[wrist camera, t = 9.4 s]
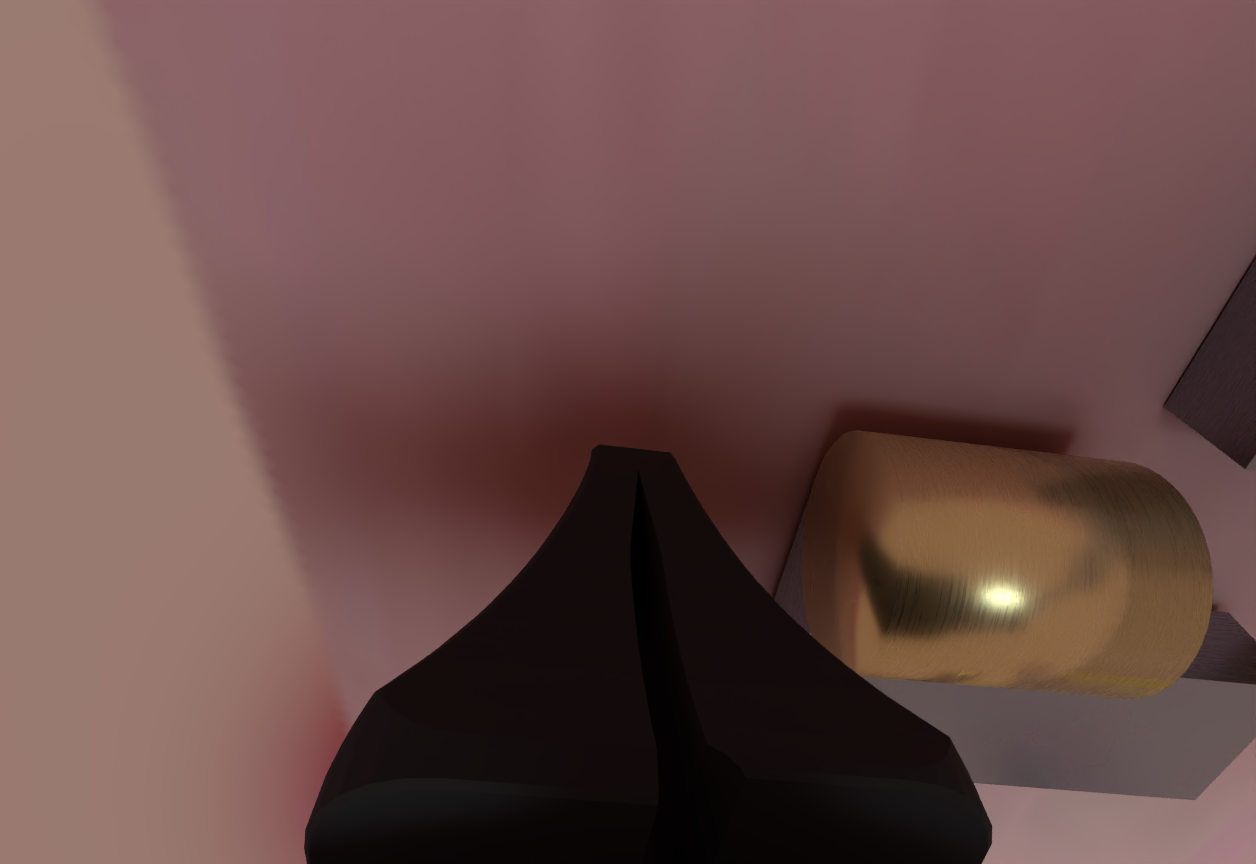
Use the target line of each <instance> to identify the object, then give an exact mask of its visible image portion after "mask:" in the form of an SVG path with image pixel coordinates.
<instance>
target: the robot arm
mask: <svg viewBox="0 0 1256 864" xmlns="http://www.w3.org/2000/svg"><path fill="white" fill-rule="evenodd" d="M991 844H992V825H991V822H990V820H989V818H988V816H987V813H986V811H985V809H984V807H983V804H982V802H981V800H980V797H979V795H978V792H977V790H976V788H975V785H974V783H973V781H972V779H971V777H970V774H969V772H968V770H967V768H966V766H965V765H964V763H963V761H962V759H961V757H960V755H959V753H958V752H957V750H956V748H955V746H954V744H953V742H952V740H951V738H950V737H949V736H947V735H946V734H944V733H943V732H941V731H940V730H938V729H937V728H935V727H934V726H932V725H931V724H929V723H928V722H926V721H925V720H923V719H921V718H920V717H918V716H917V715H915V714H914V713H912V712H911V711H909V710H908V709H906V708H905V707H903V706H902V705H900V704H899V703H897V702H896V701H894V700H893V699H891V698H890V697H888V696H887V695H885V694H884V693H882V692H881V691H880V690H878V689H877V688H876V687H874V686H873V685H872V684H870V683H869V682H868V681H866V680H865V679H864V678H862V677H861V676H860V675H858V674H857V673H856V672H855V671H853V670H852V669H851V668H849V667H848V666H847V665H845V664H844V663H843V662H842V661H841V660H839V659H838V658H837V657H836V656H834V655H833V654H832V653H831V652H830V651H828V650H827V649H826V648H825V647H824V646H822V645H821V644H820V643H819V642H818V641H817V640H816V639H815V638H814V637H812V636H811V635H810V634H809V633H808V632H807V631H806V630H805V629H804V628H802V627H801V626H800V625H799V624H798V623H797V622H796V621H795V620H794V619H793V618H792V617H791V616H790V615H789V614H788V613H787V612H786V611H785V610H784V609H782V607H781V606H780V605H779V604H778V603H777V602H776V601H775V600H774V599H773V598H772V597H771V596H770V595H769V594H768V593H767V592H766V590H765V589H764V588H763V587H762V586H761V585H760V584H759V583H758V582H757V581H756V580H755V578H754V577H753V576H752V575H751V574H750V572H749V571H748V570H747V569H746V568H745V566H744V565H743V564H742V562H741V561H740V560H739V558H738V557H737V556H736V555H735V553H734V552H733V551H732V549H731V548H730V547H729V545H728V544H727V542H726V541H725V540H724V538H723V537H722V536H721V534H720V533H719V531H718V530H717V528H716V527H715V525H714V524H713V522H712V521H711V519H710V518H709V516H708V515H707V513H706V512H705V510H704V509H703V507H702V505H701V504H700V502H699V501H698V499H697V497H696V496H695V494H694V492H693V490H692V489H691V487H690V485H689V484H688V482H687V480H686V478H685V477H684V475H683V473H682V471H681V469H680V467H679V465H678V464H677V462H676V460H675V458H674V457H673V456H672V454H671V453H669V452H660V451H651V450H643V449H634V448H625V447H616V446H607V445H598V446H597V447H595V448H594V449H592V453H591V459H590V462H589V466H588V468H587V471H586V473H585V476H584V478H583V480H582V482H581V484H580V486H579V488H578V490H577V492H576V494H575V495H574V497H573V499H572V501H571V502H570V504H569V506H568V508H567V509H566V511H565V513H564V514H563V516H562V517H561V519H560V520H559V522H558V523H557V525H556V526H555V528H554V529H553V530H552V532H551V533H550V535H549V536H548V538H547V539H546V541H545V542H544V543H543V545H542V546H541V547H540V549H539V550H538V551H537V552H536V554H535V555H534V556H533V558H532V559H531V560H530V561H529V562H528V564H527V565H526V566H525V567H524V568H523V569H522V570H521V572H520V573H519V574H518V575H517V576H516V577H515V578H514V580H513V581H512V582H511V583H510V584H509V585H508V586H507V587H506V588H505V589H504V590H503V591H502V592H501V593H500V594H499V595H498V596H497V597H496V598H495V599H494V600H493V601H492V602H491V603H490V604H489V605H488V606H487V607H486V608H485V609H484V610H483V611H482V612H481V613H479V614H478V615H477V616H476V617H475V618H474V619H473V620H471V621H470V622H469V623H468V624H467V625H465V626H464V627H463V628H462V629H461V630H459V631H458V632H457V633H456V634H455V635H453V636H452V637H451V638H450V639H449V640H447V641H446V642H445V643H444V644H443V645H441V646H440V647H439V648H438V649H436V650H435V651H434V652H432V653H431V654H430V655H428V656H427V657H426V658H424V659H423V660H421V661H420V662H418V663H417V664H415V665H414V666H412V667H411V668H410V669H408V670H407V671H405V672H404V673H402V674H401V675H399V676H398V677H396V678H395V679H393V680H392V681H391V682H389V683H388V684H386V685H385V686H383V687H382V688H380V689H379V690H377V691H376V692H375V693H374V694H373V695H372V697H371V698H370V700H369V701H368V703H367V704H366V706H365V707H364V709H363V710H362V712H361V713H360V715H359V716H358V718H357V720H356V721H355V723H354V724H353V726H352V728H351V729H350V731H349V733H348V734H347V736H346V738H345V740H344V741H343V743H342V745H341V747H340V749H339V751H338V753H337V755H336V757H335V759H334V760H333V762H332V764H331V766H330V768H329V770H328V772H327V775H326V777H325V779H324V782H323V785H322V787H321V790H320V792H319V795H318V798H317V800H316V803H315V806H314V808H313V811H312V814H311V816H310V819H309V822H308V824H307V827H306V831H305V846H304V849H305V855H306V861H307V864H982V862H983V860H984V858H985V856H986V854H987V852H988V850H989V848H990V846H991Z"/></svg>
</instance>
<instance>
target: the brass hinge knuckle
mask: <svg viewBox="0 0 1256 864" xmlns="http://www.w3.org/2000/svg"><path fill="white" fill-rule="evenodd" d="M1212 599H1213V576H1212V567H1211V561H1210V555H1209V551H1208V547H1207V544H1206V540H1205V537H1204V534H1203V532H1202V529H1201V527H1200V524H1199V522H1198V520H1197V518H1196V516H1195V515H1194V513H1193V511H1192V509H1191V507H1190V506H1189V505H1188V503H1187V502H1186V500H1185V499H1184V498H1183V496H1182V495H1181V494H1180V493H1179V492H1178V491H1177V490H1176V489H1175V488H1174V487H1173V485H1172V484H1171V483H1169V482H1168V481H1167V480H1166V479H1164V478H1163V477H1162V476H1160V475H1159V474H1157V473H1155V472H1154V471H1152V470H1150V469H1148V468H1146V467H1143V466H1141V465H1138V464H1134V463H1129V462H1124V461H1115V460H1107V459H1098V458H1090V457H1081V456H1073V455H1064V454H1055V453H1047V452H1038V451H1030V450H1021V449H1013V448H1004V447H996V446H987V445H979V444H970V443H962V442H953V441H945V440H936V439H928V438H919V437H911V436H902V435H894V434H885V433H877V432H868V431H860V430H854V431H849V432H847V433H845V434H843V435H842V436H840V437H839V438H838V439H837V440H836V441H835V442H834V443H833V445H832V446H831V447H830V449H829V450H828V452H827V454H826V455H825V457H824V459H823V461H822V463H821V465H820V468H819V470H818V473H817V475H816V478H815V481H814V484H813V487H812V490H811V492H810V495H809V498H808V501H807V504H806V507H805V510H804V513H803V516H802V519H801V522H800V525H799V528H798V531H797V534H796V536H795V539H794V542H793V545H792V548H791V551H790V554H789V557H788V560H787V563H786V566H785V569H784V572H783V575H782V578H781V580H780V583H779V586H778V589H777V592H776V595H775V598H774V600H775V601H776V602H777V603H778V604H779V605H780V606H781V607H782V609H784V610H785V611H786V612H787V613H788V614H789V615H790V616H791V617H792V618H793V619H794V620H795V621H796V622H797V623H798V624H799V625H800V626H801V627H802V628H804V629H805V630H806V631H807V632H808V633H809V634H810V635H811V636H812V637H814V638H815V639H816V640H817V641H818V642H819V643H820V644H821V645H822V646H824V647H825V648H826V649H827V650H828V651H830V652H831V653H832V654H833V655H834V656H836V657H837V658H838V659H839V660H841V661H842V662H843V663H844V664H845V665H847V666H848V667H849V668H851V669H852V670H853V671H855V672H856V673H857V674H858V675H860V676H861V677H862V678H864V679H865V680H866V681H868V682H869V683H870V684H872V685H873V686H874V687H876V688H877V689H878V690H880V691H881V692H882V693H884V694H885V695H887V696H888V697H890V698H891V699H893V700H894V701H896V702H897V703H899V704H900V705H902V706H903V707H905V708H906V709H908V710H909V711H911V712H912V713H914V714H915V715H917V716H918V717H920V718H921V719H923V720H925V721H926V722H928V723H929V724H931V725H932V726H934V727H935V728H937V729H938V730H940V731H941V732H943V733H944V734H946V735H947V736H949V737H950V738H951V740H952V742H953V744H954V746H955V748H956V750H957V752H958V753H959V755H960V757H961V759H962V761H963V763H964V765H965V766H966V768H967V770H968V772H969V774H970V777H971V779H972V781H973V783H983V784H995V785H1008V786H1021V787H1034V788H1047V789H1059V790H1072V791H1085V792H1098V793H1111V794H1124V795H1136V796H1149V797H1162V798H1175V799H1188V800H1195V799H1196V798H1197V797H1198V796H1199V795H1200V794H1201V793H1202V792H1203V791H1204V790H1205V789H1206V788H1207V787H1208V786H1209V785H1210V784H1211V783H1212V782H1213V781H1214V780H1215V779H1216V778H1217V777H1218V776H1219V775H1220V774H1221V773H1222V771H1223V770H1224V769H1225V768H1226V767H1227V766H1228V765H1229V764H1230V763H1231V762H1232V761H1233V760H1234V759H1235V758H1236V757H1237V756H1238V755H1239V754H1240V753H1241V752H1242V751H1243V750H1244V749H1245V748H1246V747H1247V746H1248V745H1249V744H1250V743H1251V742H1252V741H1253V739H1254V738H1255V737H1256V641H1255V640H1254V639H1253V638H1252V637H1251V636H1250V634H1249V633H1248V632H1247V631H1246V630H1245V629H1244V628H1243V627H1242V626H1241V625H1240V624H1239V623H1238V622H1237V621H1236V620H1235V619H1234V618H1233V617H1232V616H1231V615H1230V614H1229V613H1225V612H1215V611H1211V610H1212Z"/></svg>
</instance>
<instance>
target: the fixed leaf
mask: <svg viewBox="0 0 1256 864" xmlns="http://www.w3.org/2000/svg"><path fill="white" fill-rule="evenodd" d="M1164 407H1165V408H1166V409H1168V410H1169V411H1170V412H1172V413H1173V414H1174V415H1175V416H1177V417H1178V418H1179V419H1181V420H1182V421H1183V422H1185V423H1186V424H1187V425H1188V426H1190V427H1191V428H1192V429H1194V430H1195V431H1196V432H1198V433H1199V434H1200V435H1201V436H1203V437H1204V438H1205V439H1207V440H1208V441H1209V442H1210V443H1212V444H1213V445H1214V446H1216V447H1217V448H1218V449H1220V450H1221V451H1222V452H1223V453H1225V454H1226V455H1227V456H1229V457H1230V458H1231V459H1233V460H1234V461H1235V462H1236V463H1238V464H1239V465H1240V466H1242V467H1243V468H1244V469H1247V470H1256V259H1255V261H1254V262H1253V264H1252V265H1251V267H1250V269H1249V270H1248V272H1247V274H1246V275H1245V277H1244V278H1243V280H1242V282H1241V283H1240V285H1239V287H1238V288H1237V290H1236V291H1235V293H1234V295H1233V296H1232V298H1231V299H1230V301H1229V303H1228V304H1227V306H1226V308H1225V309H1224V311H1223V312H1222V314H1221V316H1220V317H1219V319H1218V321H1217V322H1216V324H1215V325H1214V327H1213V329H1212V330H1211V332H1210V333H1209V335H1208V337H1207V338H1206V340H1205V342H1204V343H1203V345H1202V346H1201V348H1200V350H1199V351H1198V353H1197V354H1196V356H1195V358H1194V359H1193V361H1192V363H1191V364H1190V366H1189V367H1188V369H1187V371H1186V372H1185V374H1184V376H1183V377H1182V379H1181V380H1180V382H1179V384H1178V385H1177V387H1176V388H1175V390H1174V392H1173V393H1172V395H1171V397H1170V398H1169V400H1168V401H1167V403H1166V405H1165V406H1164Z"/></svg>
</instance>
